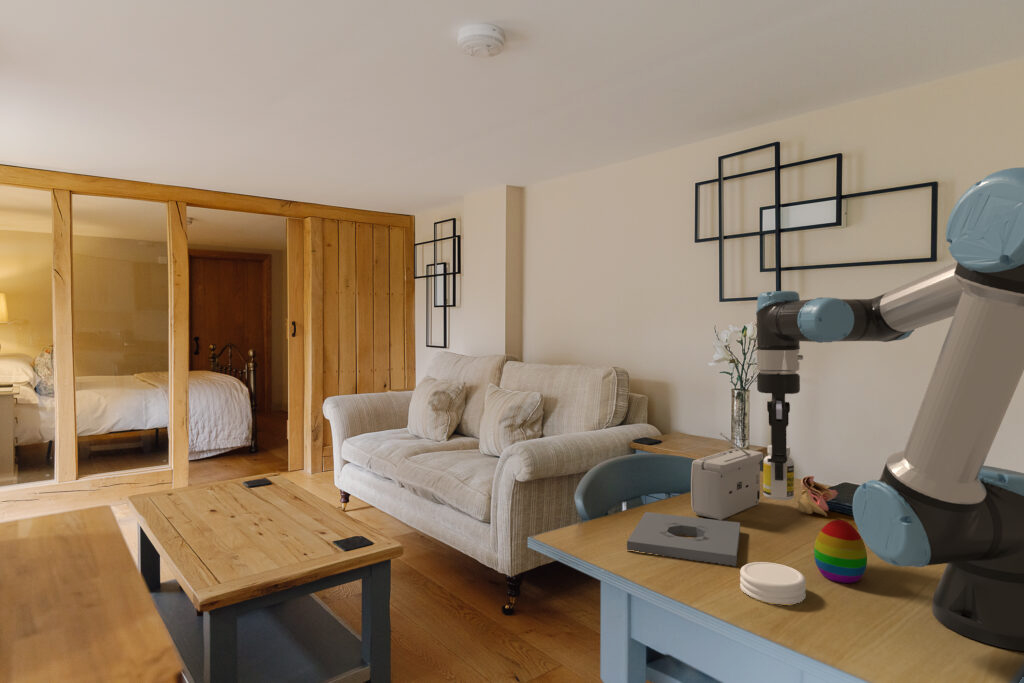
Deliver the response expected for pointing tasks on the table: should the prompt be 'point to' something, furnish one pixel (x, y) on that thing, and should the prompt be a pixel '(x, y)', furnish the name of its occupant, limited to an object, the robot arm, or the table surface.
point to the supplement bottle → (768, 475)
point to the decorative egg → (840, 552)
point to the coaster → (773, 583)
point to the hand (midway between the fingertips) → (778, 492)
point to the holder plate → (709, 545)
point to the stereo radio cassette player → (725, 482)
